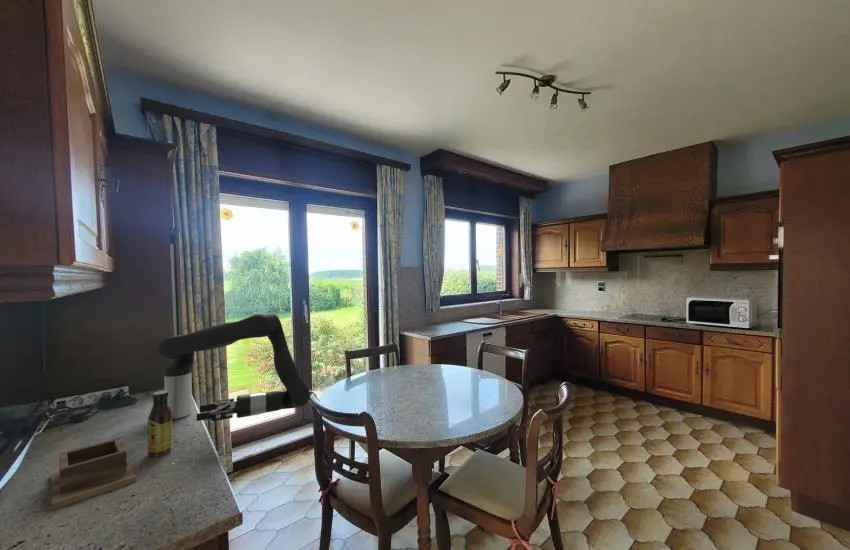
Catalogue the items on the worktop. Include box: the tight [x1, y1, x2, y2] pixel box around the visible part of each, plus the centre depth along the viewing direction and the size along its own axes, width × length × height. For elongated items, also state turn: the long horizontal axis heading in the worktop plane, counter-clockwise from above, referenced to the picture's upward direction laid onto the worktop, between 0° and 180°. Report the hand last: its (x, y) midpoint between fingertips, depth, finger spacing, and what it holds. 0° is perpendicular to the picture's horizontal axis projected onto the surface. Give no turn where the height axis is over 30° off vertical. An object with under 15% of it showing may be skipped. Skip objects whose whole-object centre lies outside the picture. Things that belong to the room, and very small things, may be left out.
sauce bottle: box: [147, 389, 173, 458], centre depth 113 cm, size 6×6×20 cm
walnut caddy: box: [51, 437, 137, 511], centre depth 98 cm, size 22×16×8 cm
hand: (198, 413), depth 118 cm, fingers open, 8 cm apart
